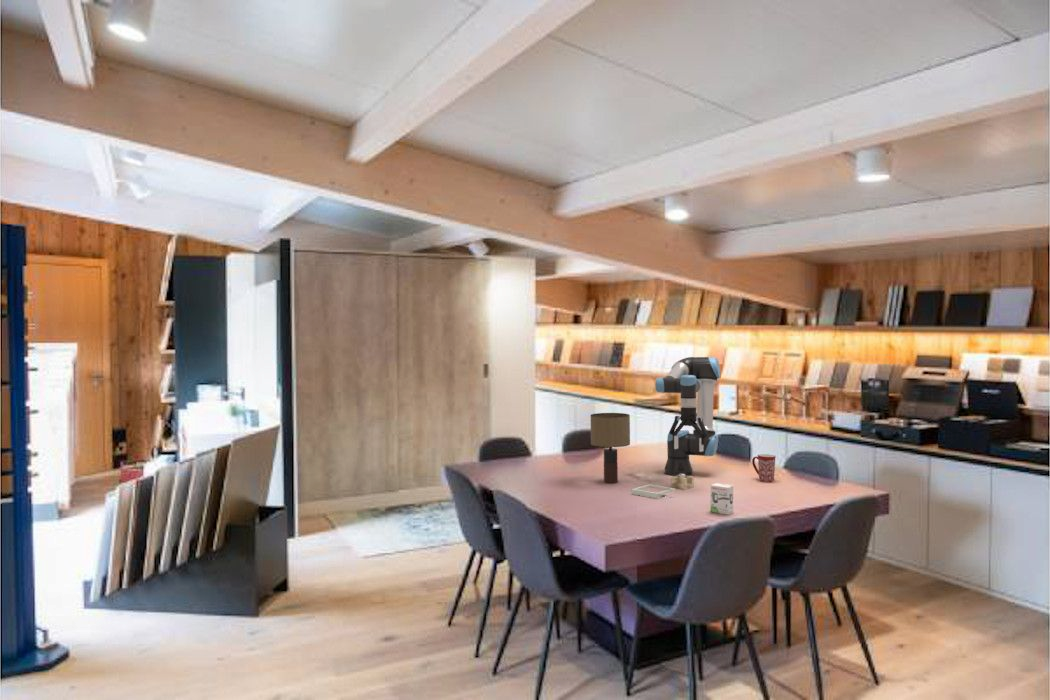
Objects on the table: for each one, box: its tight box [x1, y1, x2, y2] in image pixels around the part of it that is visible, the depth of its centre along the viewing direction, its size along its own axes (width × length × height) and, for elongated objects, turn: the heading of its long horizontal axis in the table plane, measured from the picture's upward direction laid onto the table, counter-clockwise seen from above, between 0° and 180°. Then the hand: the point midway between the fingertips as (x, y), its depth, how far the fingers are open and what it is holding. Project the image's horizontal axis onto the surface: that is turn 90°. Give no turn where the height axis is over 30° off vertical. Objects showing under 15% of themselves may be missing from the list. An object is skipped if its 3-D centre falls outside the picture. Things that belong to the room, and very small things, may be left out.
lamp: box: [590, 412, 631, 484], centre depth 371 cm, size 20×20×35 cm
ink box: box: [710, 482, 734, 515], centre depth 307 cm, size 9×5×12 cm, turn 48°
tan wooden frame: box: [670, 475, 695, 490], centre depth 351 cm, size 8×9×5 cm
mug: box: [751, 453, 777, 483], centre depth 371 cm, size 13×9×14 cm
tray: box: [630, 484, 677, 500], centre depth 344 cm, size 15×15×2 cm
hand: (688, 450), depth 351 cm, fingers open, 13 cm apart
